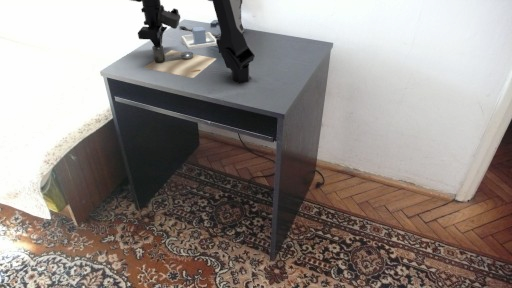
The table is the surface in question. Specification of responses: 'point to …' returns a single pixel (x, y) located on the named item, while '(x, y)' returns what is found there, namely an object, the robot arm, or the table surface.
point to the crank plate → (182, 65)
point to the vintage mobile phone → (237, 13)
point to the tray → (189, 40)
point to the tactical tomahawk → (192, 31)
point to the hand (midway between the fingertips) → (159, 49)
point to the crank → (161, 58)
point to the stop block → (199, 35)
